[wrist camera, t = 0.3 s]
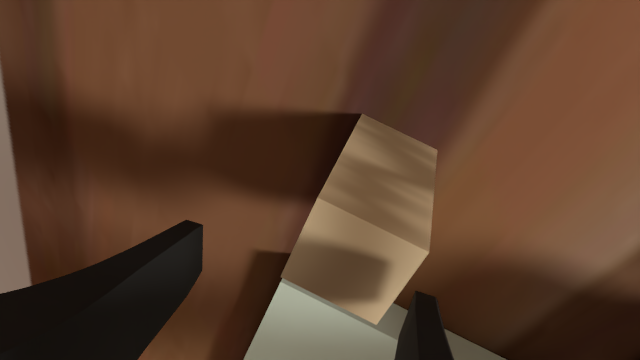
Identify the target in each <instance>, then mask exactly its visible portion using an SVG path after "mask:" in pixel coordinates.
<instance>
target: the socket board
mask: <svg viewBox="0 0 640 360" xmlns="http://www.w3.org/2000/svg"><path fill="white" fill-rule="evenodd" d="M407 312H408V310H406V309H404V308H402V307H400V306H398V305H396V304H394V303H392V304H391V306H390V307H389V308H388V310H387V311H386V313H385V314H384V315H383V317H382V318H381V319H380V321H379V322H378V324H377V325H375V324H373V323H371V322H369V321H367V320H365V319H363V318H361V317H359V316H357V315H355V314H353V313H351V312H349V311H347V310H345V309H343V308H341V307H339V306H337V305H335V304H333V303H331V302H329V301H327V300H325V299H323V298H321V297H319V296H317V295H315V294H313V293H311V292H309V291H307V290H305V289H303V288H301V287H299V286H297V285H295V284H293V283H291V282H289V281H287V280H285V279H283V278H282V280H281V282H280V284H279V286H278V288H277V291H276V293H275V295H274V297H273V299H272V301H271V303H270V305H269V307H268V309H267V311H266V314H265V316H264V318H263V320H262V322H261V324H260V326H259V328H258V330H257V332H256V334H255V337H254V339H253V341H252V343H251V345H250V347H249V349H248V351H247V353H246V355H245V357H244V360H394V359H395V354H396V348H397V343H398V338H399V334H400V331H401V328H402V326H403V323H404V320H405V318H406V315H407ZM444 330H445V333H446V337H447V340H448V343H449V346H450V349H451V352H452V355H453V358H454V360H506V359H504V358H502V357H500V356H498V355H496V354H494V353H492V352H490V351H488V350H486V349H484V348H482V347H480V346H478V345H476V344H474V343H472V342H470V341H468V340H466V339H464V338H462V337H460V336H458V335H456V334H454V333H452V332H450V331H448V330H446V329H444Z"/></svg>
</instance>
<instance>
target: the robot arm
mask: <svg viewBox="0 0 640 360" xmlns="http://www.w3.org/2000/svg"><path fill="white" fill-rule="evenodd" d="M202 249H203V225H202V224H199V223H195V222H192V221H189V220H185V221H183V222H181V223H179V224H177V225H175V226H173V227H171V228H169V229H167V230H166V231H164V232H162V233H160V234H158V235H156V236H154V237H152V238H150V239H148V240H146V241H144V242H142V243H140V244H138V245H136V246H134V247H132V248H130V249H128V250H126V251H124V252H122V253H119V254H117V255H115V256H113V257H111V258H108V259H106V260H104V261H102V262H100V263H97V264H95V265H92V266H90V267H87V268H85V269H82V270H79V271H76V272H74V273H71V274H68V275H65V276H62V277H59V278H56V279H53V280H49V281H46V282H43V283H40V284H36V285H33V286H30V287H26V288H22V289H19V290H14V291H10V292H7V293H2V294H0V360H137V359H138V358H139V357H140V355H141V354H142V353H143V351H144V350H145V348H146V347H147V346H148V345H149V343H150V342H151V341H152V340H153V338H154V337H155V336H156V335H157V333H158V332H159V331H160V330H161V328H162V327H163V326H164V325H165V323H166V322H167V321H168V319H169V318H170V317H171V316H172V314H173V313H174V312H175V311H176V309H177V308H178V307H179V305H180V304H181V303H182V302H183V300H184V299H185V298H186V296H187V295H188V293H189V292H190V290H191V288H192V287H193V285H194V284H195V282H196V280H197V278H198V277H199V275H200V273H201V271H202ZM394 360H454V358H453V355H452V352H451V349H450V346H449V343H448V340H447V337H446V333H445V330H444V326H443V322H442V319H441V315H440V310H439V306H438V301H437V299H436V297H434V296H431V295H427V294H424V293H421V292H418V291H415V294H414V296H413V299H412V302H411V304H410V307H409V310H408V312H407V315H406V318H405V320H404V323H403V326H402V328H401V331H400V334H399V338H398V343H397V348H396V354H395V359H394Z"/></svg>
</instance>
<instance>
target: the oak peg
mask: <svg viewBox="0 0 640 360" xmlns="http://www.w3.org/2000/svg"><path fill="white" fill-rule="evenodd" d="M436 161H437V150H436V149H434V148H432V147H430V146H428V145H426V144H424V143H422V142H420V141H417V140H415V139H413V138H411V137H409V136H407V135H405V134H403V133H401V132H399V131H397V130H395V129H393V128H391V127H388V126H386V125H384V124H382V123H380V122H378V121H376V120H374V119H372V118H370V117H368V116H366V115H364V114H362V115H361V117H360V119H359V120H358V122H357V124H356V126H355V128H354V130H353V132H352V134H351V136H350V137H349V139H348V141H347V143H346V145H345V147H344V149H343V151H342V153H341V154H340V156H339V158H338V160H337V162H336V164H335V166H334V168H333V170H332V171H331V173H330V175H329V177H328V179H327V181H326V183H325V185H324V187H323V188H322V190H321V192H320V194H319V196H318V198H317V200H316V202H315V204H314V206H313V208H312V211H311V213H310V215H309V217H308V219H307V221H306V223H305V225H304V228H303V230H302V232H301V234H300V236H299V238H298V240H297V242H296V244H295V247H294V249H293V251H292V253H291V255H290V257H289V259H288V261H287V263H286V266H285V268H284V270H283V272H282V274H281V276H280V277H281V278H283V279H285V280H287V281H289V282H291V283H293V284H295V285H297V286H299V287H301V288H303V289H305V290H307V291H309V292H311V293H313V294H315V295H317V296H319V297H321V298H323V299H325V300H327V301H329V302H331V303H333V304H335V305H337V306H339V307H341V308H343V309H345V310H347V311H349V312H351V313H353V314H355V315H357V316H359V317H361V318H363V319H365V320H367V321H369V322H371V323H373V324H375V325H377V324H378V322H379V321H380V319H381V318H382V317H383V315H384V314H385V313H386V311H387V310H388V308H389V307H390V306H391V304H392V303H393V302H394V300H395V299H396V297H397V296H398V295H399V293H400V292H401V291H402V289H403V288H404V286H405V285H406V284H407V282H408V281H409V280H410V278H411V277H412V275H413V274H414V273H415V271H416V270H417V269H418V267H419V266H420V264H421V263H422V262H423V260H424V259H425V258H426V256H427V255H428V253H429V250H430V237H431V224H432V212H433V199H434V186H435V174H436Z"/></svg>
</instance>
